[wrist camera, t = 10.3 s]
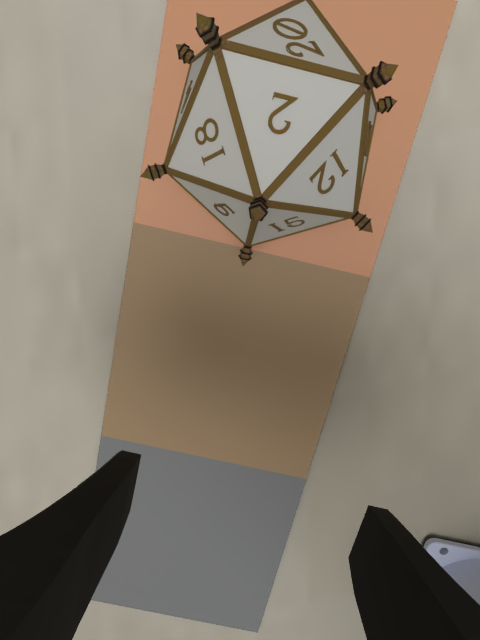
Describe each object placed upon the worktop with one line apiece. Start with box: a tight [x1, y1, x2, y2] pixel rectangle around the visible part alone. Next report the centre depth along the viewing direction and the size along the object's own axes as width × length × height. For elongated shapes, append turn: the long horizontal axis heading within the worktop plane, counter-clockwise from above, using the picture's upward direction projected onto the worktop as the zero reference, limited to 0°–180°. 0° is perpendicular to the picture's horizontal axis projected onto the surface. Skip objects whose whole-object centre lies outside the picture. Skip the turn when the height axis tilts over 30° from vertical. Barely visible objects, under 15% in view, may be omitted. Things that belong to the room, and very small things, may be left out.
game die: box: [140, 0, 398, 266], centre depth 14 cm, size 9×8×10 cm
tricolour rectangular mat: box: [91, 0, 457, 633], centre depth 20 cm, size 12×36×1 cm, turn 167°
